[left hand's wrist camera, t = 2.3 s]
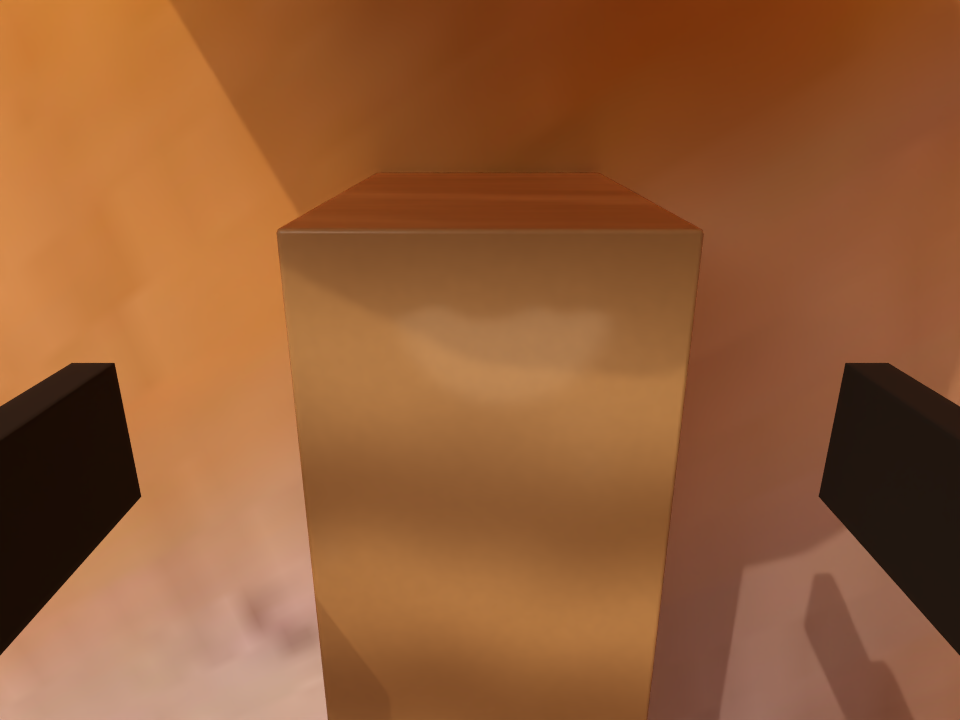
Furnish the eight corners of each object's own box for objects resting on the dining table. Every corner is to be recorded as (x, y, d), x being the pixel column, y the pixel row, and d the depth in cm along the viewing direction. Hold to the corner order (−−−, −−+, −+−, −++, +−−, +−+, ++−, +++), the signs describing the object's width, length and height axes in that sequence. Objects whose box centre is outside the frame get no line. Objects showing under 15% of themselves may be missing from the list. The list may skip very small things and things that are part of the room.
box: (375, 172, 22) (274, 228, 11) (600, 172, 22) (705, 229, 11) (401, 678, 29) (355, 990, 19) (570, 679, 29) (616, 993, 19)
